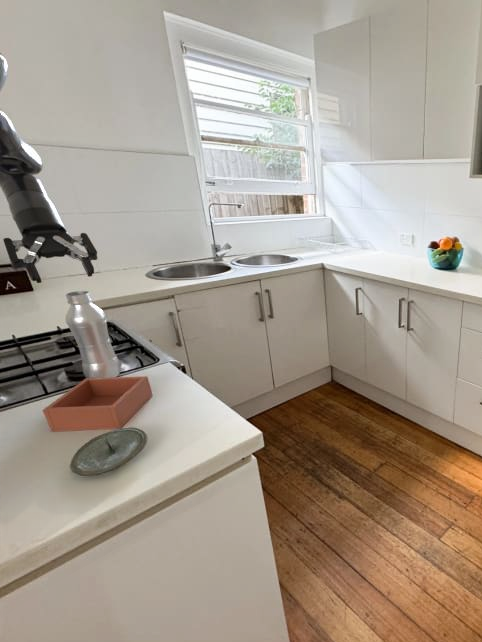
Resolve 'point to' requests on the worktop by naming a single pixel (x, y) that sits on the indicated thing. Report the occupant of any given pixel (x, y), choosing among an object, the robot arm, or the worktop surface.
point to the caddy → (98, 404)
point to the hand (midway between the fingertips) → (65, 277)
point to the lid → (108, 451)
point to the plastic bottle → (91, 336)
